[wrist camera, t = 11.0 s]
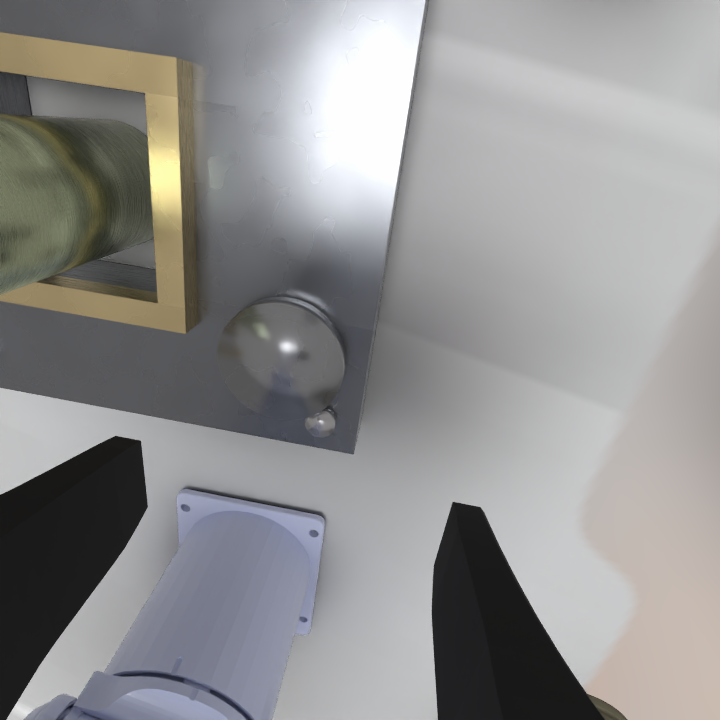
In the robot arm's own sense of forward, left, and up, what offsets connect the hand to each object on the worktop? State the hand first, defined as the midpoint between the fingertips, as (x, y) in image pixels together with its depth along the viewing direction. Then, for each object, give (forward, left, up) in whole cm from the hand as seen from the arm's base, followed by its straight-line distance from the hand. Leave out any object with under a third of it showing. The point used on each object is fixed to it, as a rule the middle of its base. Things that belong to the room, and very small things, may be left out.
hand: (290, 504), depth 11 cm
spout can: (+5, +10, -10) cm, 15 cm away
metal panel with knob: (+5, +8, -10) cm, 14 cm away
